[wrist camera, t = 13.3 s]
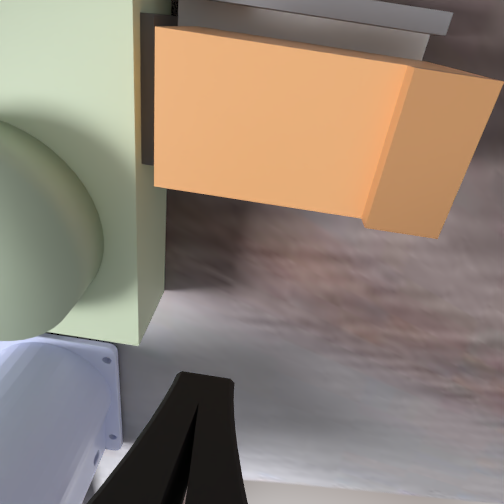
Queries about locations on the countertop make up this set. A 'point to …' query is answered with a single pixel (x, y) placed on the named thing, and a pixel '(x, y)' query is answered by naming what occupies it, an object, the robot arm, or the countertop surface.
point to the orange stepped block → (315, 126)
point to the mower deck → (121, 144)
